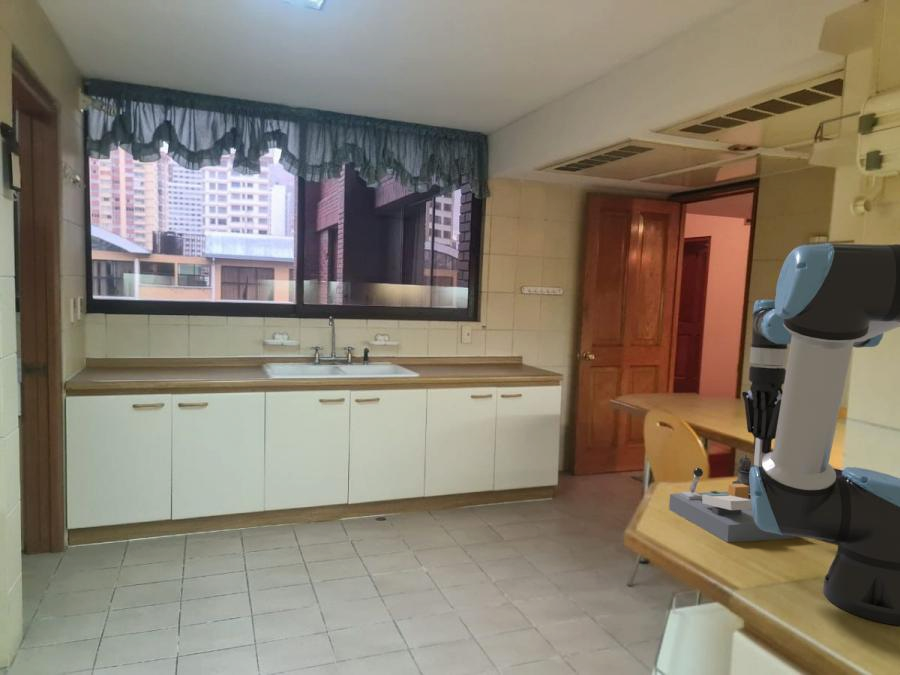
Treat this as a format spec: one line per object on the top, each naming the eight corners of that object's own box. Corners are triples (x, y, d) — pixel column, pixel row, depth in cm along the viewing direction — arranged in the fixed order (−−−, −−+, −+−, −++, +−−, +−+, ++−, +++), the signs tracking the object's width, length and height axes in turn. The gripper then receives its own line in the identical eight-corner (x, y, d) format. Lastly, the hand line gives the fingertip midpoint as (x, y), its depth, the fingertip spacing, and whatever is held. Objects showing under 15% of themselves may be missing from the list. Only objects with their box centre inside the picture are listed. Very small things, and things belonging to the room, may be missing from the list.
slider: (748, 502, 148) (749, 486, 148) (734, 503, 147) (735, 487, 147) (741, 499, 150) (742, 483, 150) (727, 500, 149) (728, 484, 149)
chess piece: (758, 500, 165) (761, 457, 164) (737, 499, 165) (740, 456, 164) (748, 493, 171) (751, 452, 170) (727, 493, 171) (730, 451, 170)
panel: (795, 538, 137) (796, 514, 137) (727, 542, 133) (729, 518, 133) (728, 506, 159) (730, 485, 158) (668, 508, 155) (669, 487, 154)
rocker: (753, 509, 136) (753, 499, 137) (731, 510, 135) (730, 500, 135) (724, 502, 146) (723, 493, 146) (702, 503, 145) (702, 494, 145)
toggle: (697, 495, 151) (705, 471, 148) (690, 495, 151) (698, 471, 148) (692, 489, 153) (700, 465, 150) (685, 490, 153) (693, 466, 150)
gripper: (803, 369, 135) (796, 473, 136) (760, 363, 147) (754, 458, 148) (775, 369, 133) (768, 474, 134) (734, 362, 145) (728, 458, 147)
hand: (761, 465), depth 141 cm, fingers closed
